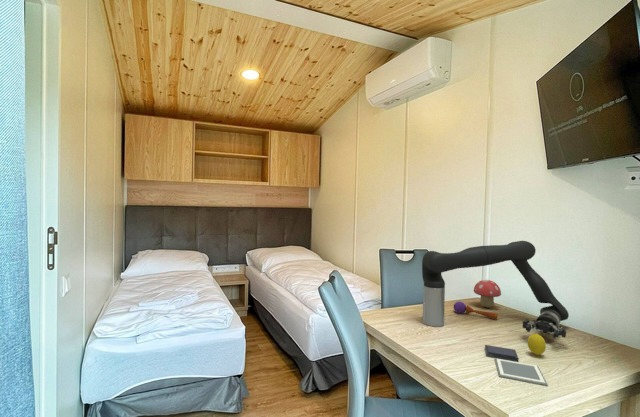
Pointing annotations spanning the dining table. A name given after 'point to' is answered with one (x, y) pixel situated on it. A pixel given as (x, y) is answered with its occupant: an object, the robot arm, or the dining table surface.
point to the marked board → (520, 372)
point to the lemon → (536, 344)
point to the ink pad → (501, 353)
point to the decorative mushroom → (487, 292)
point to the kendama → (472, 310)
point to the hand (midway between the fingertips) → (541, 332)
